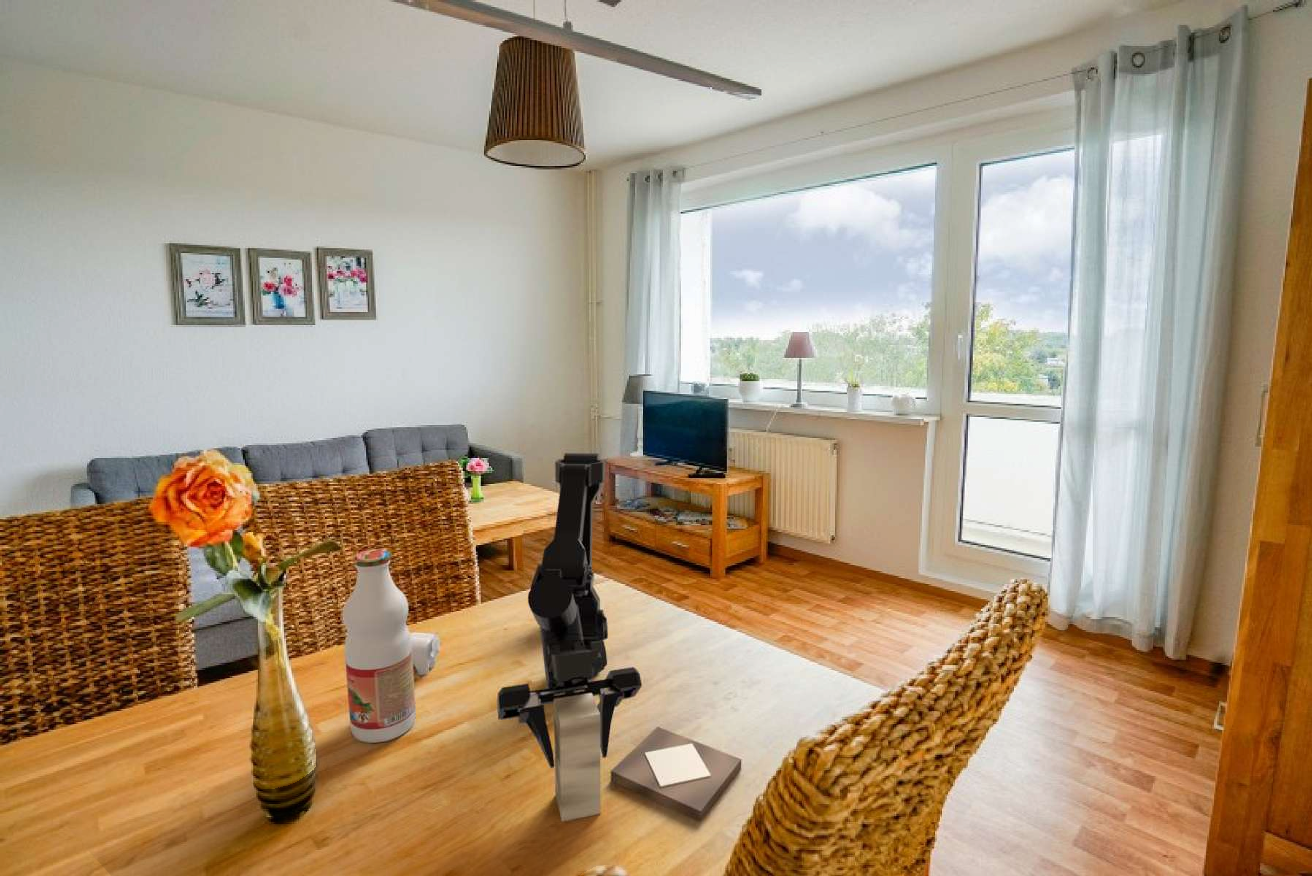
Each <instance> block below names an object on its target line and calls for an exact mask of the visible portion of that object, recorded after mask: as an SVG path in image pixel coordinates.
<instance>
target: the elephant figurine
mask: <svg viewBox="0 0 1312 876" xmlns="http://www.w3.org/2000/svg"><path fill="white" fill-rule="evenodd" d="M410 636H411V643H412V660H413V672H414V667H415V669H416V671H417V674H418V675H419V676H425V675H428V674H429V671H430V669H433V668H434V667H435V665H436V662H437V656H438V654H439V653H440V651H441V650H440V646H443V643H442V642H440V638H439V637H440V635H439V632H435V633H423V632H410Z"/></svg>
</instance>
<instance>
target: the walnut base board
mask: <svg viewBox="0 0 1312 876" xmlns="http://www.w3.org/2000/svg"><path fill="white" fill-rule="evenodd" d="M741 770H742V758H739V757H736V756H735V755H732V754H729V753H727V752H725V751H721V750H718V749H717V748H713V747H712V746H709V745H705V744H703V743H700V742H698V741H697V740H692V739H690V738H688V737H685V736H684V735H683V736H682V735H679V734H677V733H675V732H672V731H669V730H667V729H665V728H662V727H659V726H656V727H655V728H654V729H653V730H652V731H651V732H650V733H649V734H648V735H647V736H646V737H645V738H644V739H643V740H642V741H641V742H639V744H637V745H636V746H635V747H634V748H633V749H632V750H631V751H630V752H629V753H628V754H627V755H626V756H625V757H624V758H622V759H621V761H620V762H618V763H617V764H616V765H615V766H614V767H613V768H612V769H611V770H610V781H611V782H612V783H615V784H618V785H619V786H622V787H623V788H626V789H628V790H630V791H632V792H635V793H637V794H639V795H641V796H643V797H645V798H647V799H650V800H652V801H654V802H656V803H659V804H660V805H663V806H665V807H667V808H669V809H672V810H673V811H676V812H678V813H680V814H682V815H685V816H687V817H689V818H691V819H694V820H696V821H698V822H702V821H703V819H705V817H706V815H707V814H708V813H709V812H710V810H711V809H712V808H713V807H714V805H715V804H716V802H717V801H718V799H720V797H721V796H722V794H723V793H724V792H725V791H726V789H727V788H728V787H729V785H730V784H731V783H732V781H733V780H734V779H735V777H736V776H737V775H738V774H739V772H740V771H741Z"/></svg>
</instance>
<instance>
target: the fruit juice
mask: <svg viewBox="0 0 1312 876" xmlns="http://www.w3.org/2000/svg"><path fill="white" fill-rule="evenodd" d="M353 561H354V562H353V563H354V568H355V569H356V570H357V575H356V576H357V577H356V582H355V585H354V589H353V591H352V593H351V594H350V595H349V597H348V598H347V600H346V601H345V603H344V605H343V609H342V620H343V625H344V626H345V629H346V631H347V636H346V638H345V641H344V664H345V674H346V675H345V676H346V689H347V698H348V699H347V700H348V709H349V710H348V711H349V713H348V714H349V723H350V724H349V725H350V730H351V733H352V735H353V737H354V738H355V739H357V740H358V741H360V742H363V743H369V744H370V743H372V744H374V743H375V744H376V743H383V742H387V741H391V740H393V739H397V738H399V737H401V736H402V735H404V734H405V733H407V732H408V731H409V730H410V729H411V728H412V727H413V725H414V723H415V721H416V715H417V713H416V710H417V709H416V695H415V680H414V679H415V678H414V671H413V668H414V667H413V660H412V643H411V636H410V633H411V632H410V630H409V629H410V628H408V626H407V619H408V615H409V602H408V600H407V599H408V598H407V597H406V595H405V594H404V593H403V592H402V590H400V589H399V588H398V586H397V585H396V584H395V582H394V581H393V578H392V576H391V573H390V569H389V565H390V563H391V554H390V552H389V550H386V549H381V548H379V549H378V548H377V549H376V548H374V549H367V550H363V551H361V552H358V553H356V554H355V555H354V560H353Z"/></svg>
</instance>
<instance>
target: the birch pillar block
mask: <svg viewBox="0 0 1312 876" xmlns="http://www.w3.org/2000/svg"><path fill="white" fill-rule="evenodd" d="M594 697H595V696H593V695H592V693H588V694H582V695H576V696H569V697H563V698H557V699H554V703H553V726H554V727H553V729H554V731H553V733H554V734H553V735H554V737H553V739H554V742H553V743H554V777H555V778H554V788H555V789H554V791H555V794H554V795H555V799H556V805H557V808H558V813H559V817H560V821H561V822H562V823H563V822H568V821H573V820H576V819H577V820H578V819H582V818H586V817H592V816H595V815H596V816H597V815H600V814H601V811H602V810H601V748H600V712H599V710H598V707H597V705H598V704H597V703H596V700H595V698H594Z"/></svg>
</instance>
